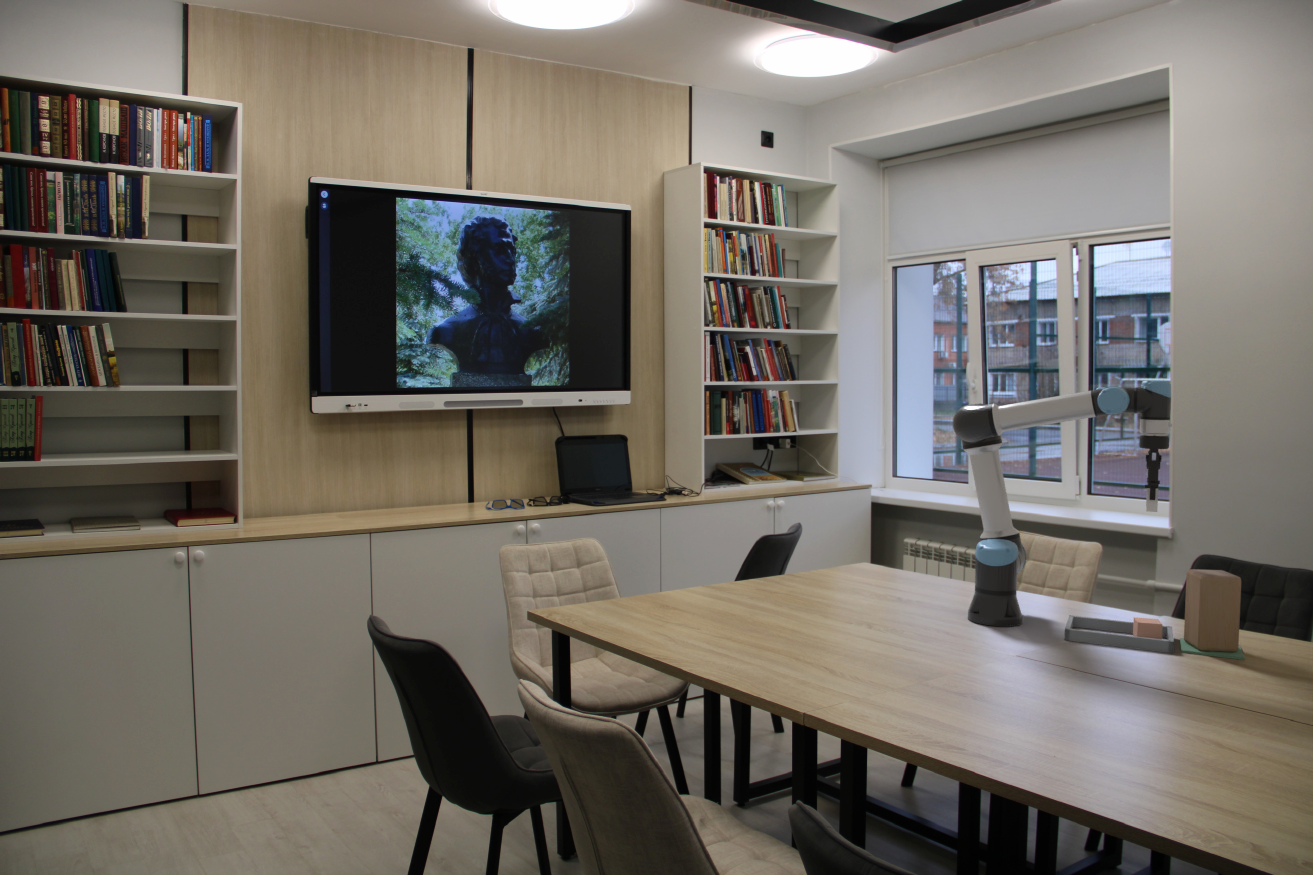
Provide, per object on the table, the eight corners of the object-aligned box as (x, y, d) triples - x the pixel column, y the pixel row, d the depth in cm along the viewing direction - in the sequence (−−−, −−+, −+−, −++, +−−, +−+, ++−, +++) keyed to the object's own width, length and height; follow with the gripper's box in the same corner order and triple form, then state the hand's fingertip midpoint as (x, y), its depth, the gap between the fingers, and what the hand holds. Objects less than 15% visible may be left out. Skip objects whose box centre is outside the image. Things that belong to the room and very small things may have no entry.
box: (1136, 644, 254) (1137, 622, 253) (1132, 638, 259) (1133, 617, 259) (1161, 646, 252) (1162, 624, 251) (1157, 640, 258) (1157, 619, 257)
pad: (1181, 652, 246) (1181, 650, 246) (1179, 639, 258) (1179, 637, 258) (1244, 659, 239) (1244, 657, 239) (1239, 646, 252) (1239, 644, 252)
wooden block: (1221, 642, 253) (1224, 569, 252) (1239, 653, 243) (1243, 576, 242) (1182, 641, 254) (1185, 568, 253) (1199, 651, 244) (1202, 575, 243)
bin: (1064, 639, 257) (1064, 629, 257) (1068, 625, 273) (1069, 615, 273) (1173, 653, 245) (1174, 641, 245) (1171, 637, 261) (1172, 626, 261)
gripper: (1170, 437, 254) (1167, 514, 255) (1168, 433, 276) (1165, 505, 277) (1139, 436, 257) (1136, 512, 259) (1139, 432, 280) (1137, 503, 281)
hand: (1151, 509), depth 268 cm, fingers open, 13 cm apart
